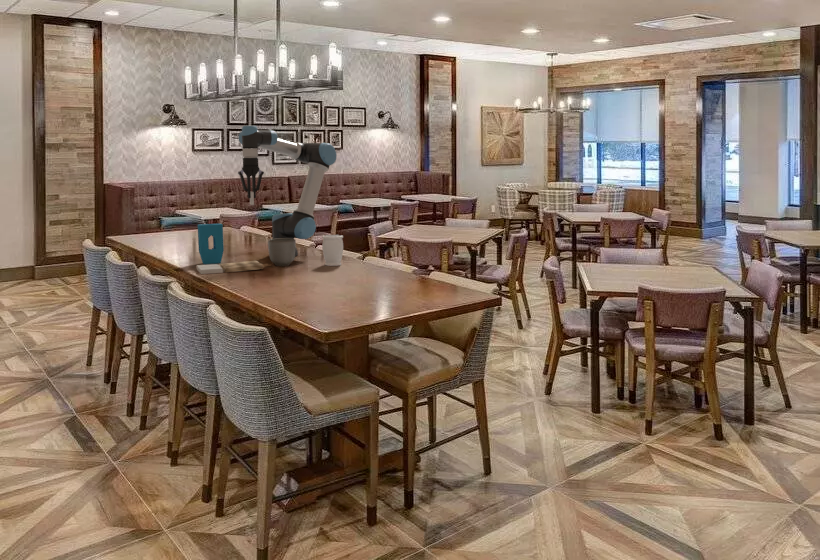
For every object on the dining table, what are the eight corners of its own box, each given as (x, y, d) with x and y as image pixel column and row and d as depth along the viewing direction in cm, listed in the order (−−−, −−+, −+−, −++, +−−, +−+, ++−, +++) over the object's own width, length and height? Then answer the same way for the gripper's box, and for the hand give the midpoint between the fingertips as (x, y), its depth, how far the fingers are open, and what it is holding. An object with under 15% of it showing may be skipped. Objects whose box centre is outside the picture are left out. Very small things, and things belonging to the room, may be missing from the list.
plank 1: (256, 264, 386) (256, 260, 385) (259, 266, 380) (259, 262, 380) (220, 267, 379) (220, 263, 378) (222, 269, 373) (222, 265, 373)
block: (201, 264, 389) (199, 225, 386) (198, 263, 394) (197, 224, 390) (224, 263, 395) (223, 224, 391) (222, 261, 399) (220, 223, 396)
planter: (273, 268, 379) (272, 242, 377) (264, 264, 391) (264, 239, 389) (300, 266, 386) (299, 240, 383) (290, 262, 398) (290, 237, 395)
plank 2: (260, 266, 378) (260, 262, 378) (263, 268, 372) (262, 264, 372) (223, 270, 371) (223, 266, 371) (225, 272, 365) (225, 268, 365)
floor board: (218, 268, 379) (218, 263, 378) (224, 272, 365) (223, 268, 365) (196, 269, 374) (196, 265, 374) (201, 274, 361) (201, 269, 360)
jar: (346, 264, 393) (346, 235, 390) (338, 267, 383) (337, 237, 381) (327, 262, 396) (327, 234, 394) (319, 265, 387) (318, 236, 384)
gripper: (261, 157, 386) (263, 204, 390) (235, 157, 381) (237, 204, 385) (265, 157, 380) (266, 205, 384) (238, 157, 374) (240, 205, 379)
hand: (251, 204), depth 384 cm, fingers closed
